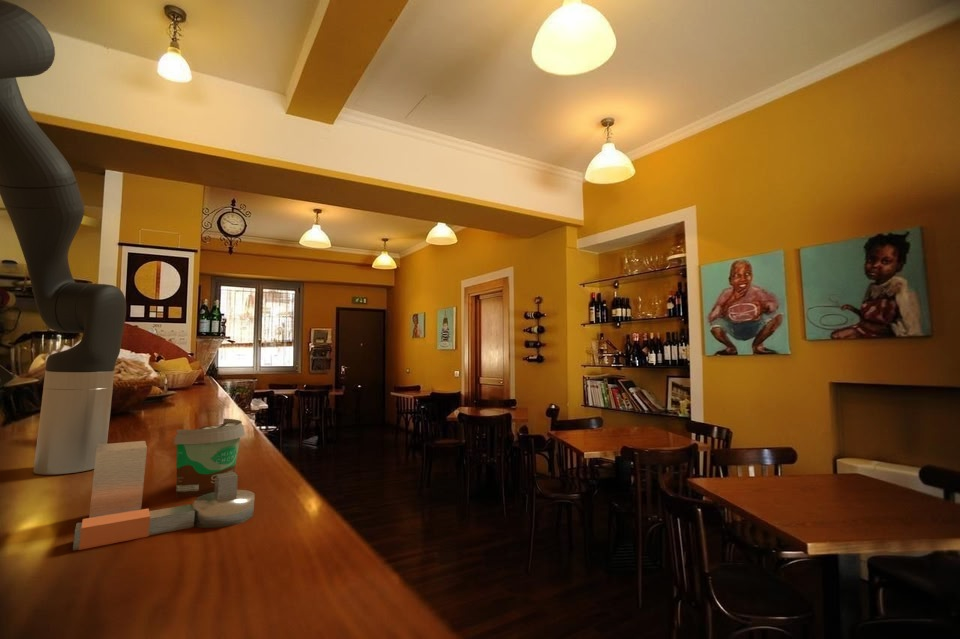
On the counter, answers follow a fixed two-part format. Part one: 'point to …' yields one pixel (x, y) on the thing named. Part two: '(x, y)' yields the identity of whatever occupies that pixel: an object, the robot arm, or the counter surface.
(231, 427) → the food container
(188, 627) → the counter surface
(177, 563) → the counter surface
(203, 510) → the ratchet
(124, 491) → the white upright block
